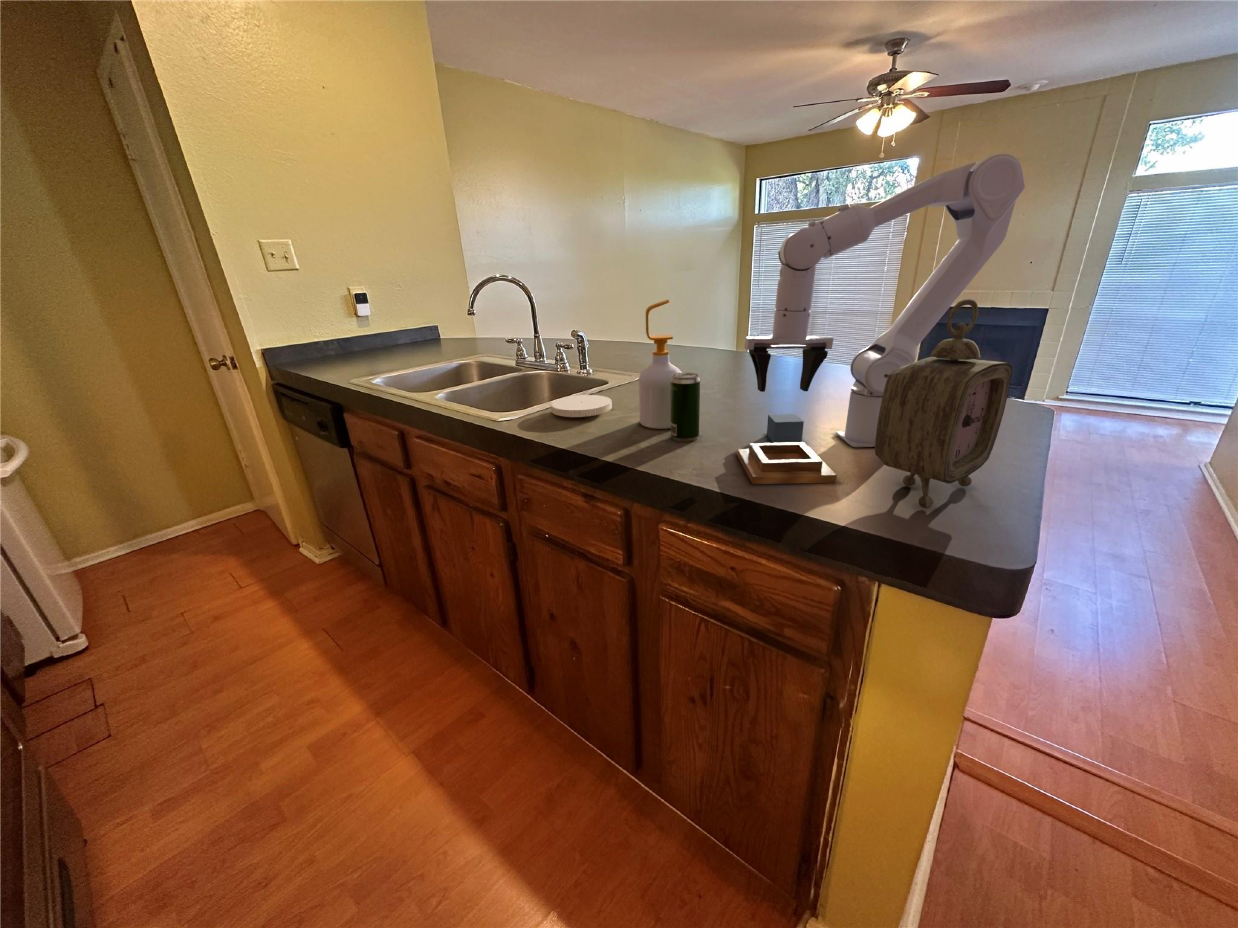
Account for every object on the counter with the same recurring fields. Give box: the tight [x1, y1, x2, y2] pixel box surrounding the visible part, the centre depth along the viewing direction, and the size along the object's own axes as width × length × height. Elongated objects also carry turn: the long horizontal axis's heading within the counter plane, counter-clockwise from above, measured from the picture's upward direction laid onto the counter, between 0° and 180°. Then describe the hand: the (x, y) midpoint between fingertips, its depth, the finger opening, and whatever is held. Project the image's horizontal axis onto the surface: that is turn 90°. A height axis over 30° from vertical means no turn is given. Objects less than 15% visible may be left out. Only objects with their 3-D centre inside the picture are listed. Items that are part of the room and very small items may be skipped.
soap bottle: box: [638, 298, 683, 430], centre depth 96 cm, size 9×9×25 cm
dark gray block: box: [766, 413, 805, 443], centre depth 87 cm, size 5×5×4 cm
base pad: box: [736, 441, 838, 485], centre depth 75 cm, size 12×12×3 cm
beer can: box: [670, 372, 701, 443], centre depth 89 cm, size 5×5×12 cm
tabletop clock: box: [874, 298, 1013, 509], centre depth 61 cm, size 14×9×25 cm, turn 124°
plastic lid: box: [550, 394, 613, 418], centre depth 110 cm, size 14×14×2 cm
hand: (782, 390), depth 85 cm, fingers open, 7 cm apart
